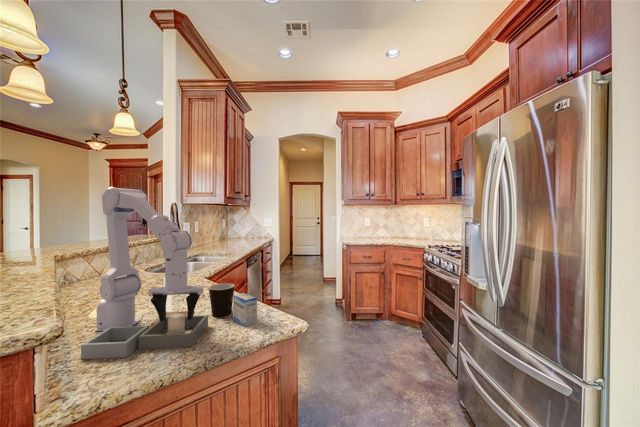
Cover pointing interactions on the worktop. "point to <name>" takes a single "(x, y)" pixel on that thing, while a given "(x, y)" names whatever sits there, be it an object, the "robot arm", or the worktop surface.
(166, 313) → the tan board
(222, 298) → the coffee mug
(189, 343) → the charcoal bin
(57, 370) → the worktop surface
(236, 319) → the medicine box
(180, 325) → the cream capsule
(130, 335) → the slate bin
